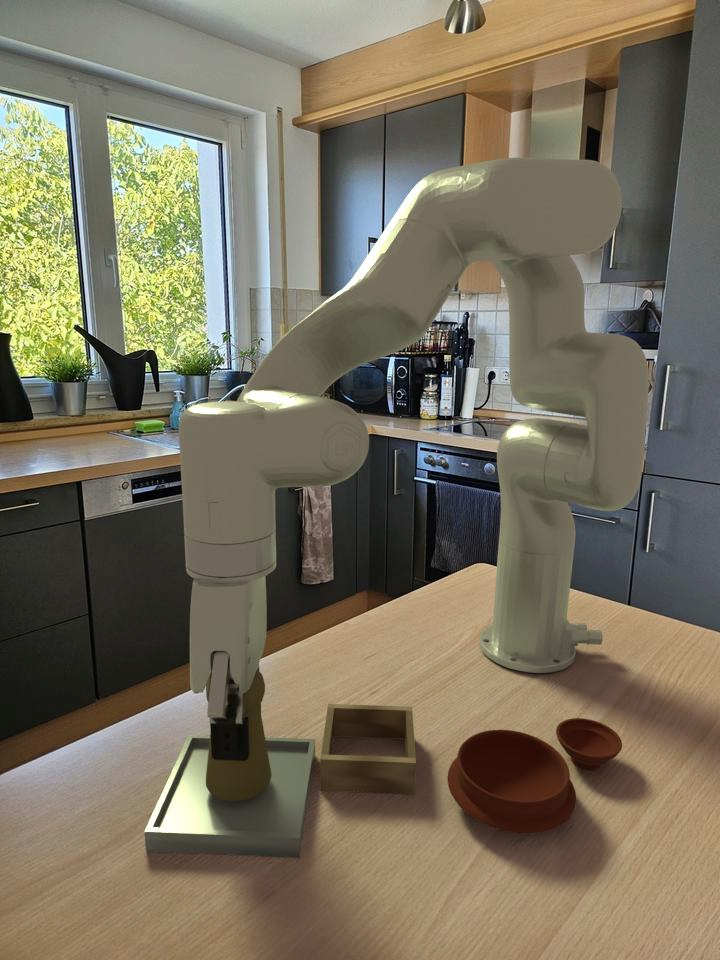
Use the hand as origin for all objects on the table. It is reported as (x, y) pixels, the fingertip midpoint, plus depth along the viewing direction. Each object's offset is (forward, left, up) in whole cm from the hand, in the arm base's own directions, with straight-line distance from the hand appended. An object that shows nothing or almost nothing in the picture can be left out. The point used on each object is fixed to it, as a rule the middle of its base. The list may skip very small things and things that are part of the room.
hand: (237, 736), depth 60 cm
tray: (0, 0, -7) cm, 7 cm away
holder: (-12, -6, -7) cm, 15 cm away
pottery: (-29, -3, -7) cm, 30 cm away
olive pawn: (0, 0, -5) cm, 5 cm away
